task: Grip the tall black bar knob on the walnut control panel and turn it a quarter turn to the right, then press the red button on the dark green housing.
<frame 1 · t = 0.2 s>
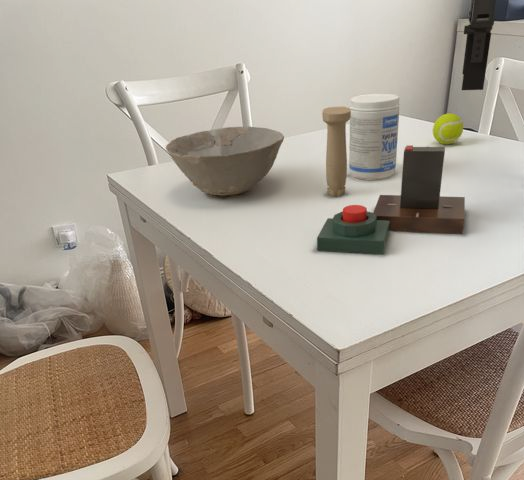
hand: (471, 81, 77), 21 cm above the table, tool pointing down, fingers open, 13 cm apart
button box: (354, 242, 84), on the table
tennis ball: (446, 144, 127), on the table
handle: (336, 195, 103), on the table
panel: (418, 220, 89), on the table
supplement tub: (371, 175, 112), on the table
ceramic bowl: (230, 191, 110), on the table
button: (354, 214, 82), point 4 cm above the table, slide at 0.1 cm
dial: (422, 177, 85), point 7 cm above the table, hinge at 0.0°
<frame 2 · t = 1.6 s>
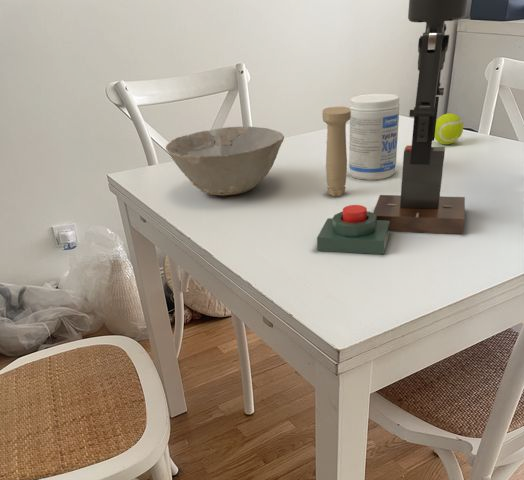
hand: (422, 151, 83), 11 cm above the table, tool pointing down, fingers open, 13 cm apart
nothing on the table moved.
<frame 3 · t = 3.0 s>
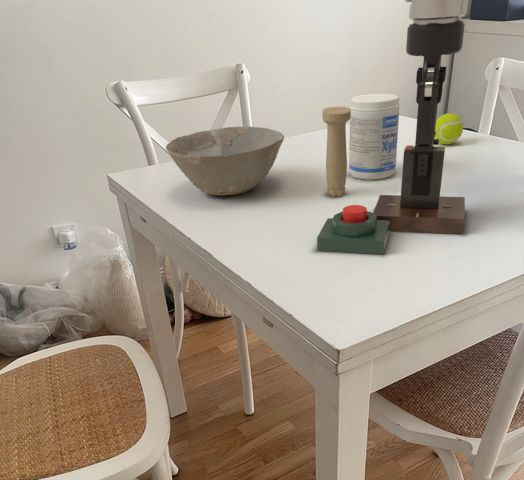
hand: (420, 190, 87), 5 cm above the table, tool pointing down, fingers closed on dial, 2 cm apart
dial: (422, 177, 85), point 7 cm above the table, hinge at -0.1°, touching gripper
everything else where it was.
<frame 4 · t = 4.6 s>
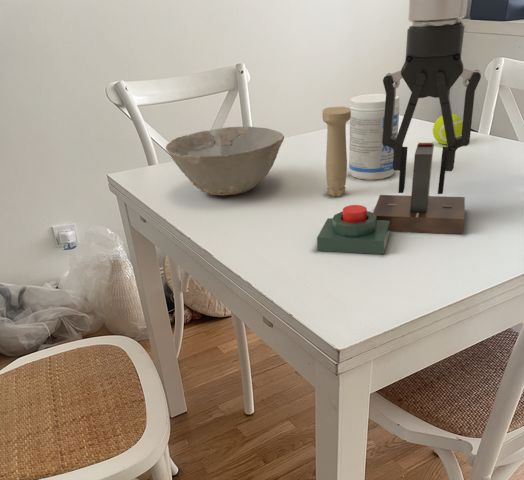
hand: (420, 190, 87), 5 cm above the table, tool pointing down, fingers open, 5 cm apart
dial: (422, 177, 85), point 7 cm above the table, hinge at -90.0°
everything else where it was.
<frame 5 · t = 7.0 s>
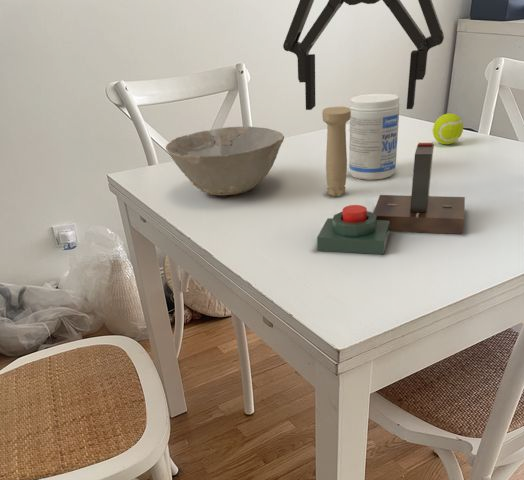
hand: (359, 107, 74), 19 cm above the table, tool pointing down, fingers open, 13 cm apart
nothing on the table moved.
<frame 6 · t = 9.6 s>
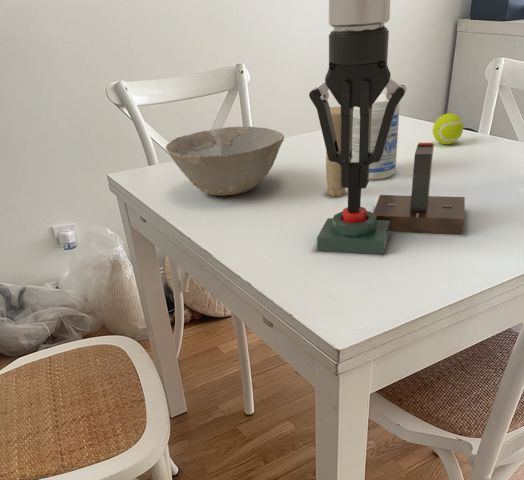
hand: (354, 208, 81), 5 cm above the table, tool pointing down, fingers closed
button: (354, 215, 82), point 4 cm above the table, slide at -0.1 cm, touching gripper
everything else where it was.
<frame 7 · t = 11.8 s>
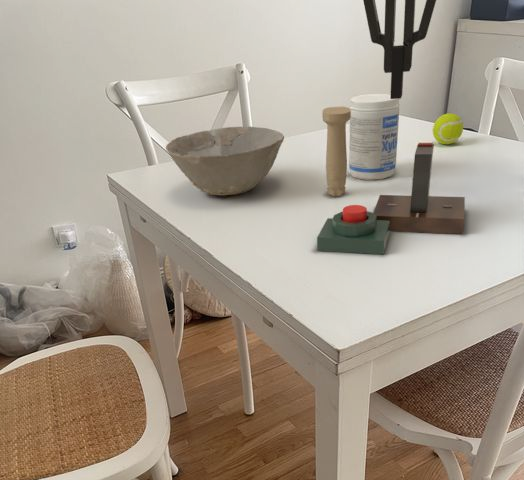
hand: (396, 96, 79), 19 cm above the table, tool pointing down, fingers closed
button: (354, 214, 82), point 4 cm above the table, slide at 0.1 cm
everything else where it was.
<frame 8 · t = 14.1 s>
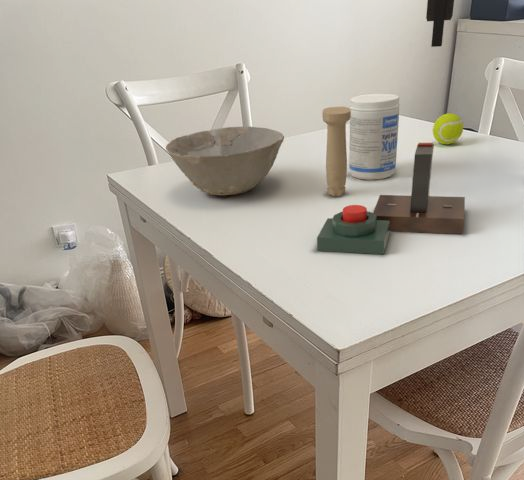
hand: (436, 45, 84), 24 cm above the table, tool pointing down, fingers closed
nothing on the table moved.
at the end: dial at -90° (first picture: +0°); button pushed in 1.0 cm at the most during the clip, back to where it started at the end; button slide at 0.1 cm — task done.
